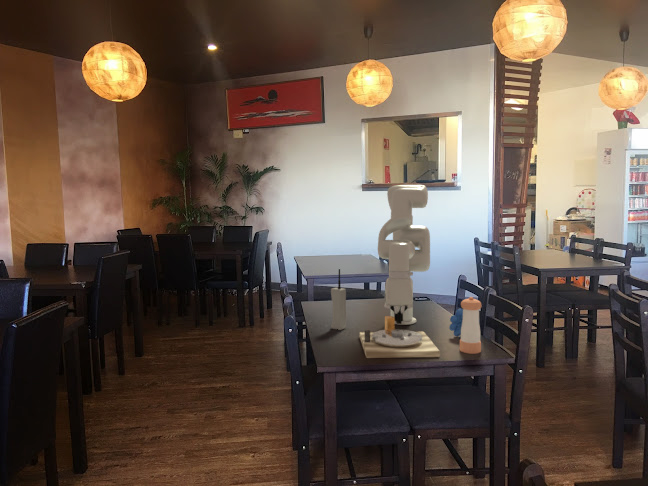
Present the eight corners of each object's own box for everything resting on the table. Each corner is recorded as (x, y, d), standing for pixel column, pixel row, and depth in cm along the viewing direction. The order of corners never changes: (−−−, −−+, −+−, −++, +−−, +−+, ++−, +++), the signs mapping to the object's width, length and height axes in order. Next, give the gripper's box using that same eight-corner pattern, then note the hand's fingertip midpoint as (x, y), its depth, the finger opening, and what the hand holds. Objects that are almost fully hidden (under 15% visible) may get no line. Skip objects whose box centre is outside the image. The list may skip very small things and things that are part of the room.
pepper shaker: (466, 354, 174) (467, 299, 172) (455, 348, 181) (456, 295, 179) (485, 352, 176) (486, 298, 174) (473, 346, 183) (474, 294, 181)
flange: (365, 334, 191) (365, 317, 190) (410, 331, 195) (410, 314, 194) (381, 348, 173) (381, 330, 172) (430, 345, 177) (430, 326, 176)
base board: (359, 337, 196) (359, 322, 196) (423, 336, 197) (423, 321, 196) (366, 357, 171) (366, 340, 171) (439, 356, 172) (439, 339, 171)
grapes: (475, 333, 200) (476, 303, 199) (481, 338, 193) (481, 307, 192) (446, 333, 200) (446, 304, 199) (450, 338, 193) (451, 308, 192)
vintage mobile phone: (336, 326, 212) (336, 267, 210) (346, 328, 209) (345, 268, 207) (331, 328, 209) (330, 268, 207) (340, 330, 206) (340, 269, 204)
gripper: (416, 273, 194) (415, 320, 195) (377, 273, 193) (377, 320, 195) (420, 276, 186) (420, 325, 188) (380, 277, 186) (380, 326, 187)
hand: (398, 322), depth 191 cm, fingers closed
